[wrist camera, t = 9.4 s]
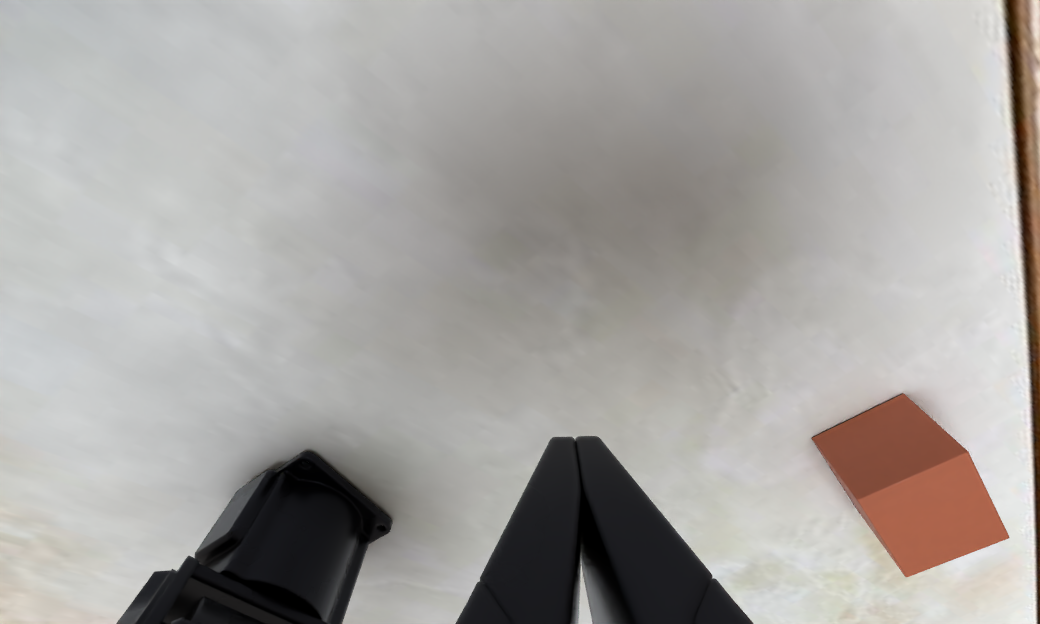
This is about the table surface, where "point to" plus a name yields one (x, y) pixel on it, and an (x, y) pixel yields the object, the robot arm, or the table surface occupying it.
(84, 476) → the table surface
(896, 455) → the reddish brown block
